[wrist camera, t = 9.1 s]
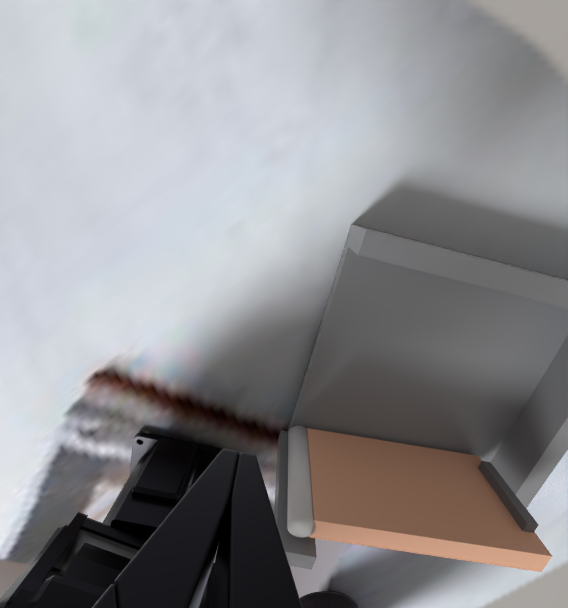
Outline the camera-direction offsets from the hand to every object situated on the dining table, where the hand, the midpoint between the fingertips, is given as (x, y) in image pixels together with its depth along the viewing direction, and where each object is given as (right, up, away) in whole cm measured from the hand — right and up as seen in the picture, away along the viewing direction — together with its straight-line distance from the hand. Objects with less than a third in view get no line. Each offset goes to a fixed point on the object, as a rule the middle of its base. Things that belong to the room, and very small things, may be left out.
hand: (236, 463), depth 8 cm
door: (+8, -6, +13) cm, 16 cm away
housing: (+11, 0, +13) cm, 16 cm away
